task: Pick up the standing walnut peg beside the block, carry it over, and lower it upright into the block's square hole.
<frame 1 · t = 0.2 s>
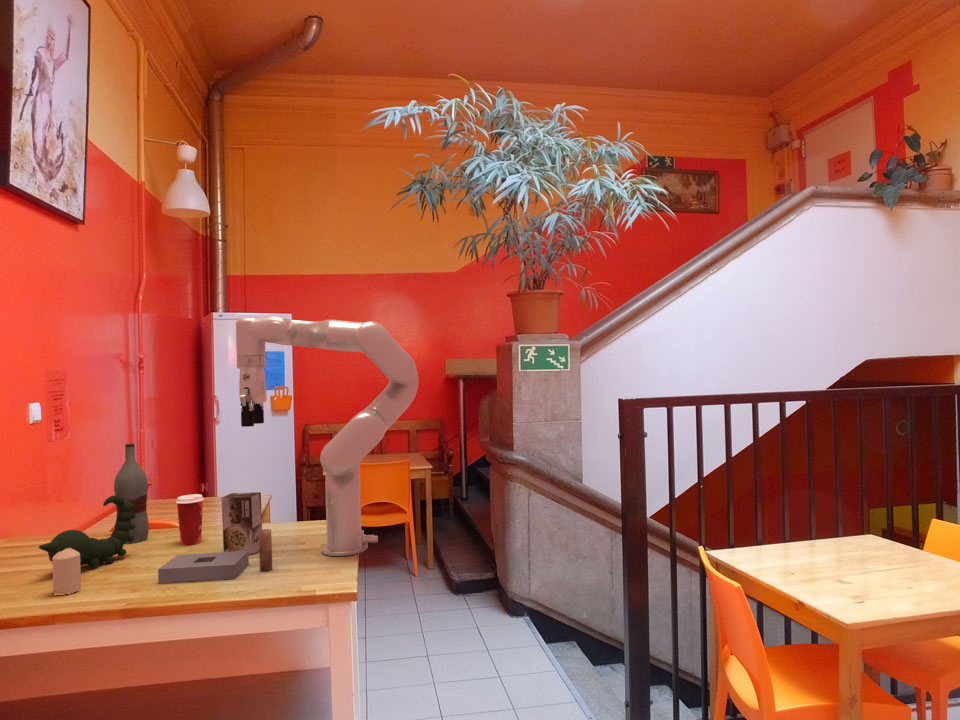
hand: (252, 424, 176), 36 cm above the table, tool pointing down, fingers open, 9 cm apart
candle: (67, 592, 151), on the table
coffee box: (243, 552, 180), on the table
bottle: (132, 541, 197), on the table
walnut peg: (266, 569, 162), on the table
hole block: (205, 573, 161), on the table
toy figurine: (89, 568, 170), on the table
paper cup: (191, 543, 192), on the table
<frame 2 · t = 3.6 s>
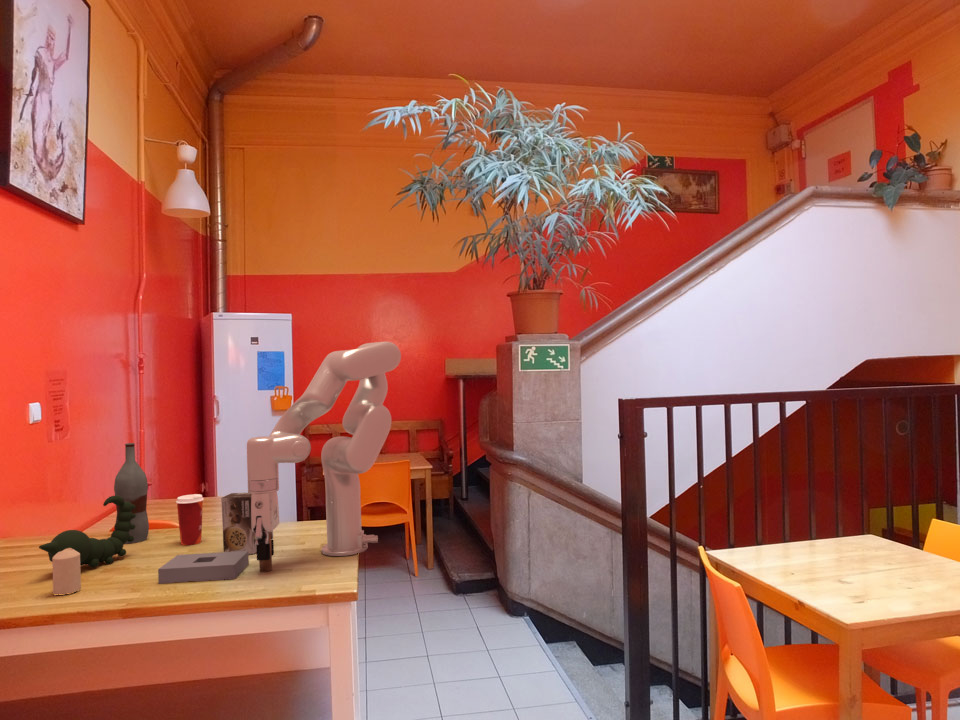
hand: (265, 557, 162), 3 cm above the table, tool pointing down, fingers closed on walnut peg, 2 cm apart
walnut peg: (265, 569, 162), on the table, touching gripper
everything else where it was.
when the fingers open (5 cm above the table, at t = 8.9 s): walnut peg drops 1 cm, resting in hole block.
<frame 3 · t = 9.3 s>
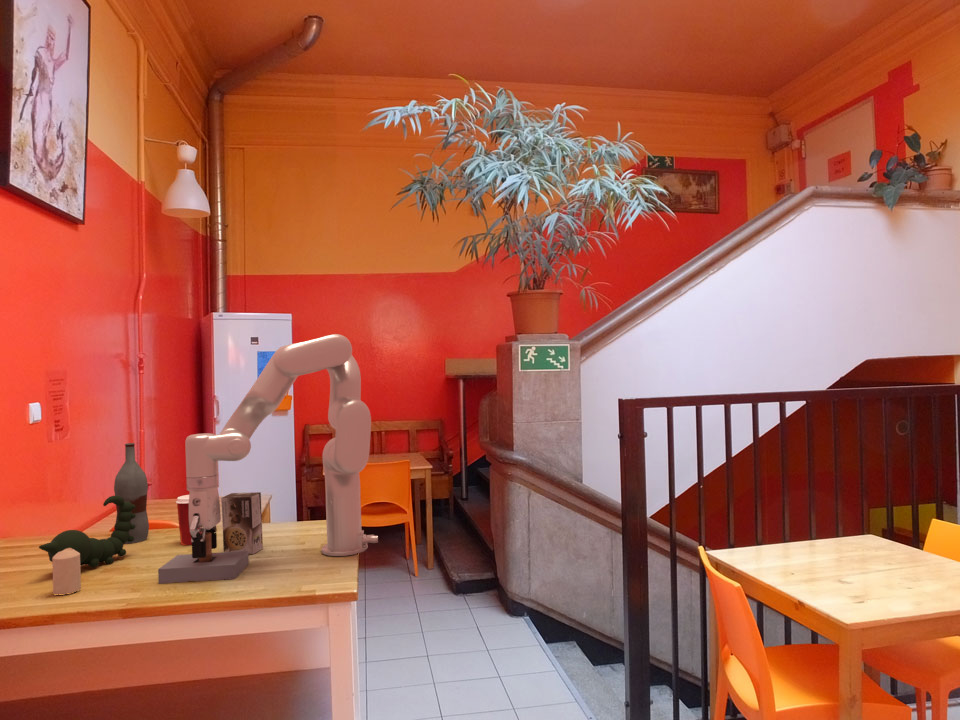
hand: (204, 552, 161), 5 cm above the table, tool pointing down, fingers open, 7 cm apart
walnut peg: (205, 573, 161), resting in hole block
everything else where it was.
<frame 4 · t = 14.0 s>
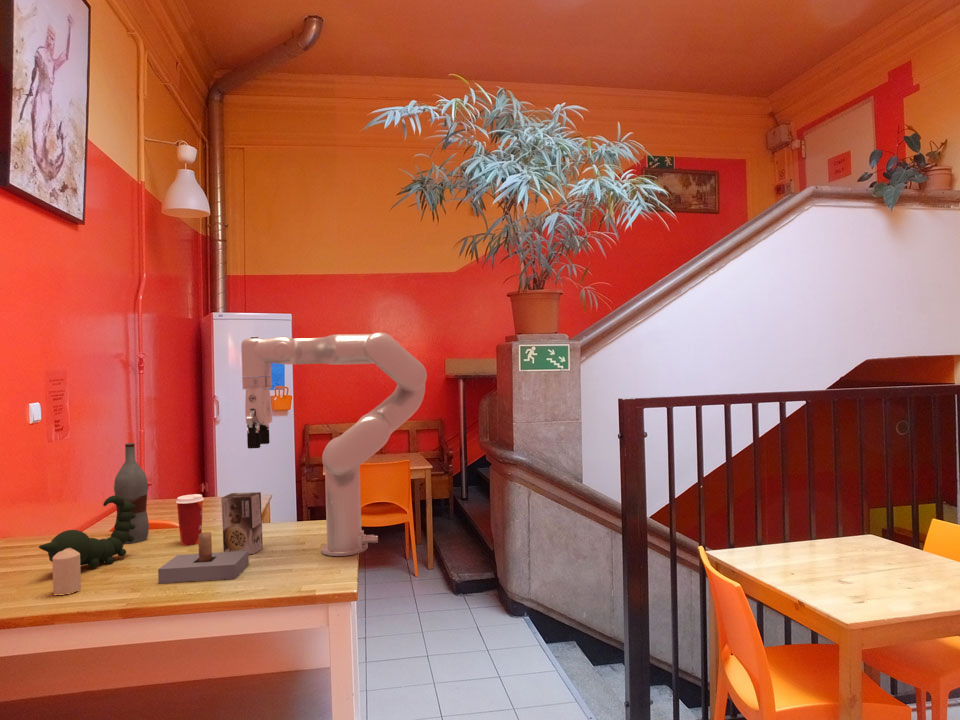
hand: (258, 446, 174), 30 cm above the table, tool pointing down, fingers open, 9 cm apart
nothing on the table moved.
at the end: walnut peg 0.1 cm off-centre on the hole block, point 0.0 cm above the hole block's base; walnut peg tilted 0°; the gripper is holding nothing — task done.
